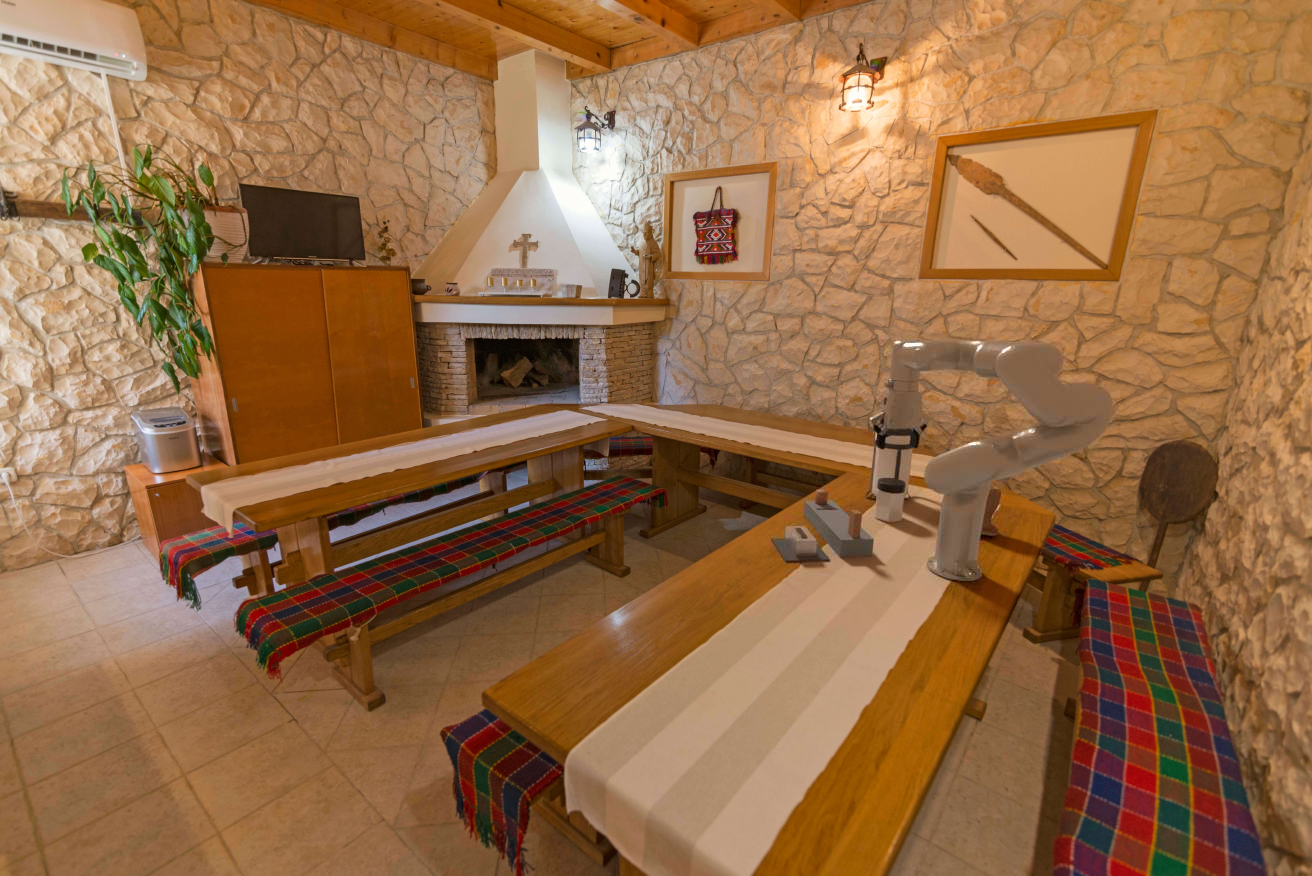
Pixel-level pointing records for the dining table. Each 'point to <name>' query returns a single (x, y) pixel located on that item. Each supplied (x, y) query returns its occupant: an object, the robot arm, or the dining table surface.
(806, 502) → the body
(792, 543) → the light grey box
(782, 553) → the rubber mat
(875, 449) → the coffee press
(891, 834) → the dining table surface
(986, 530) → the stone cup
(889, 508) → the jar
